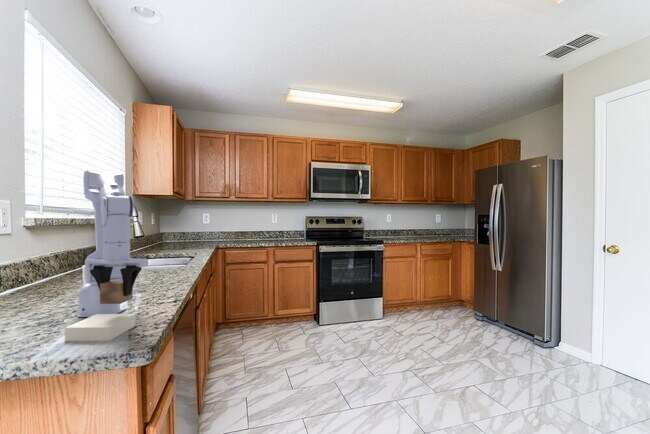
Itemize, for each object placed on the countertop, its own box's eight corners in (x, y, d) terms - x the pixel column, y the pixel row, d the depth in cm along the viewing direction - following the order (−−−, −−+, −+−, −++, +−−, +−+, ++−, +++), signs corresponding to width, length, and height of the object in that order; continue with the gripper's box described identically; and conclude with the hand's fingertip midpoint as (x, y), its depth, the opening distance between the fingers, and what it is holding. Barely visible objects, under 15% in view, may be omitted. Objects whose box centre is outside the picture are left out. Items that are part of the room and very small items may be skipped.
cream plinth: (64, 342, 69) (64, 327, 69) (96, 327, 79) (96, 314, 79) (109, 342, 69) (109, 327, 69) (135, 327, 79) (135, 313, 79)
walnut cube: (99, 303, 75) (100, 283, 75) (113, 298, 80) (113, 279, 80) (120, 303, 75) (120, 283, 75) (132, 298, 80) (132, 279, 80)
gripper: (75, 243, 73) (74, 299, 73) (136, 243, 74) (135, 298, 74) (96, 241, 80) (95, 292, 80) (151, 241, 81) (151, 292, 81)
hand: (116, 295), depth 78 cm, fingers closed on walnut cube, 5 cm apart
